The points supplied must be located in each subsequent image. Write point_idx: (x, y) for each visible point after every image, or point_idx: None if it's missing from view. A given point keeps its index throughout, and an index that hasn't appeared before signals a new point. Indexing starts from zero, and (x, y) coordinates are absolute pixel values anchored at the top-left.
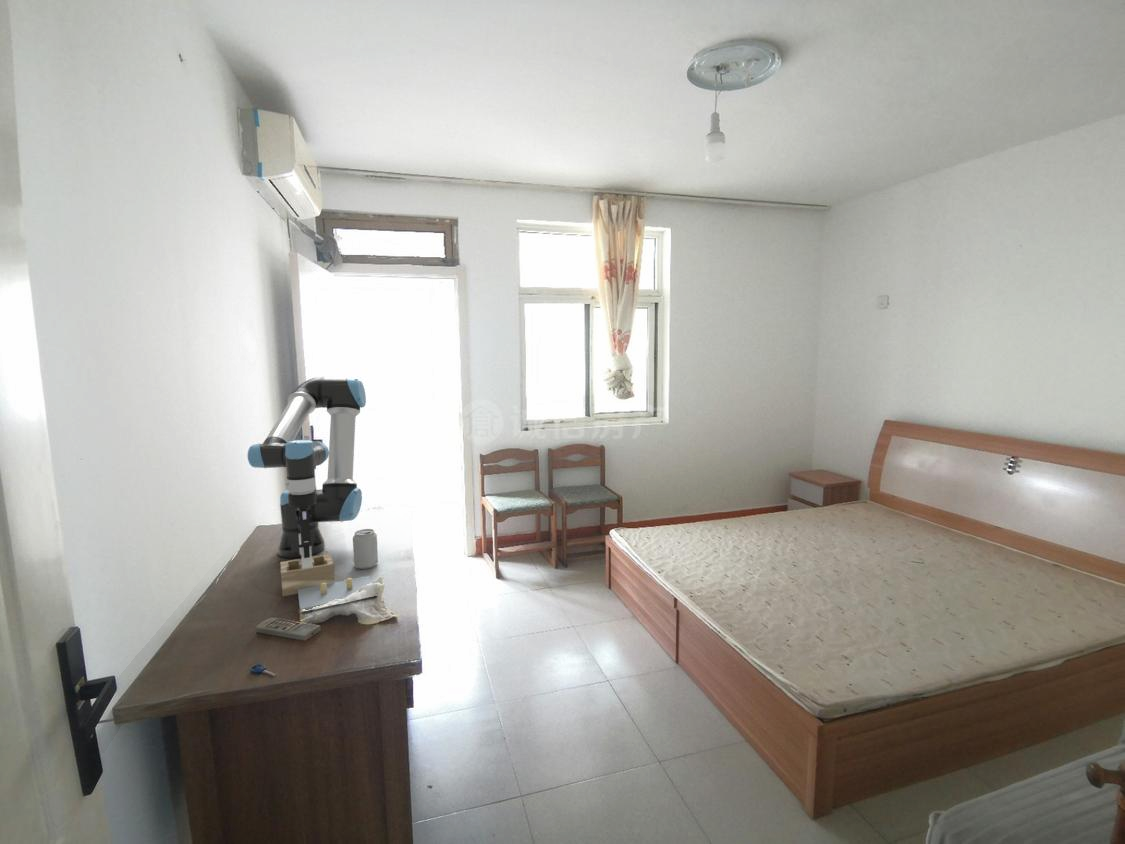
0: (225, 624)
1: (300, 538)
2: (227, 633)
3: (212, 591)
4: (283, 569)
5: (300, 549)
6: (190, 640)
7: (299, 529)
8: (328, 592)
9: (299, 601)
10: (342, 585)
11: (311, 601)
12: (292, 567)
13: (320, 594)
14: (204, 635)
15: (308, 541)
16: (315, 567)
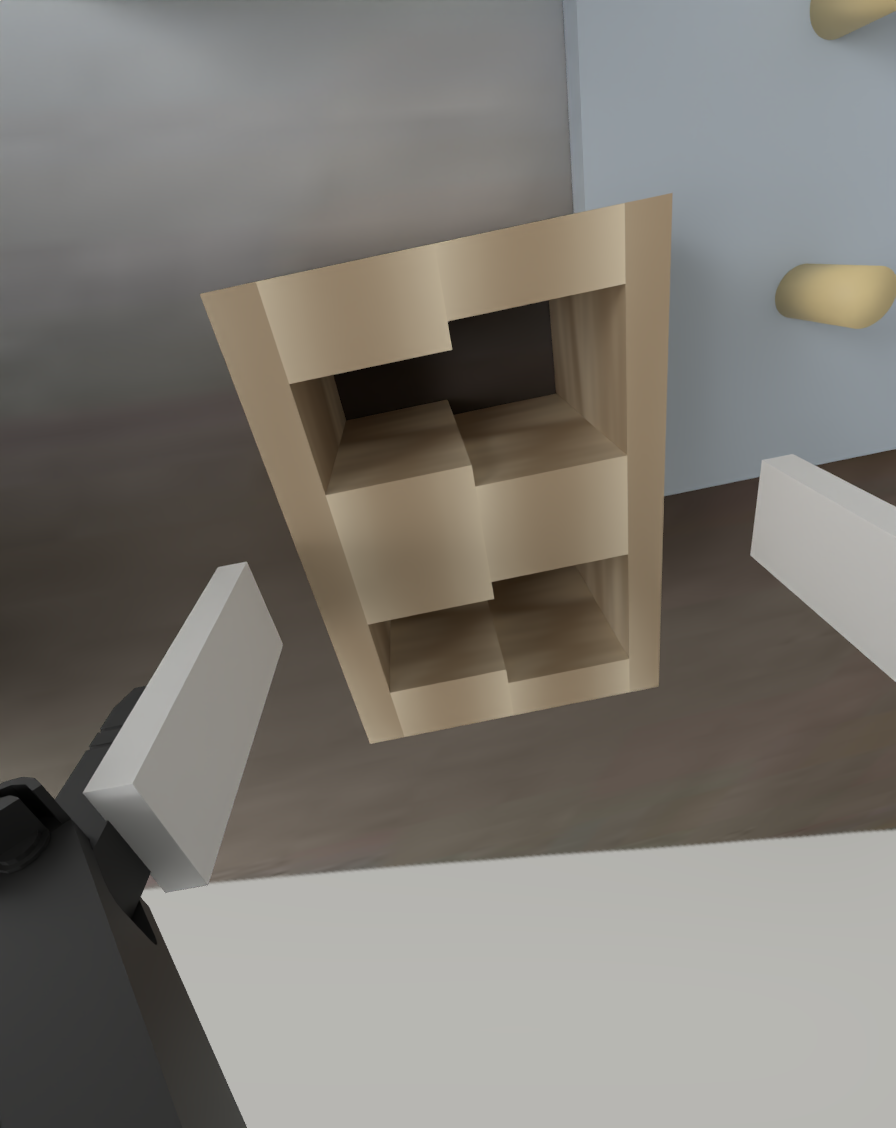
0: (788, 732)
1: (222, 800)
2: (888, 703)
3: (378, 863)
4: (569, 688)
5: (265, 679)
6: (850, 790)
7: (182, 991)
8: (796, 250)
9: (821, 462)
10: (708, 105)
11: (884, 376)
12: (383, 630)
13: (795, 321)
14: (841, 766)
15: (197, 665)
16: (663, 425)
